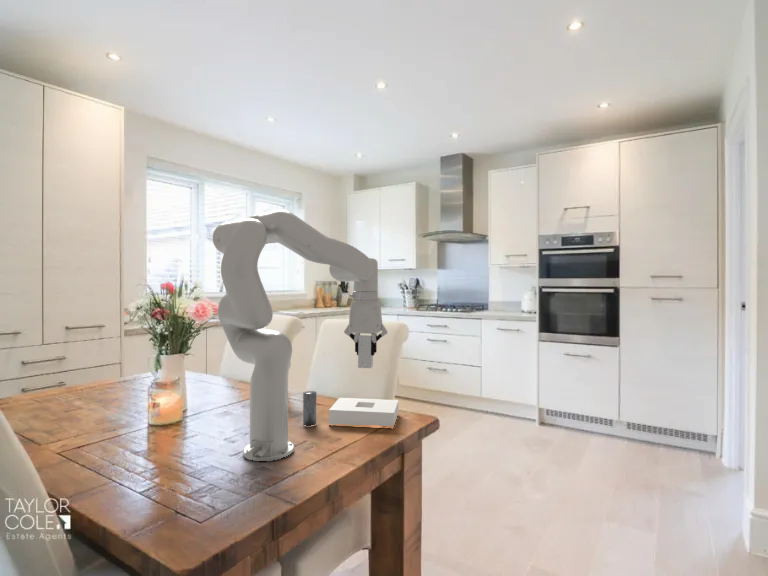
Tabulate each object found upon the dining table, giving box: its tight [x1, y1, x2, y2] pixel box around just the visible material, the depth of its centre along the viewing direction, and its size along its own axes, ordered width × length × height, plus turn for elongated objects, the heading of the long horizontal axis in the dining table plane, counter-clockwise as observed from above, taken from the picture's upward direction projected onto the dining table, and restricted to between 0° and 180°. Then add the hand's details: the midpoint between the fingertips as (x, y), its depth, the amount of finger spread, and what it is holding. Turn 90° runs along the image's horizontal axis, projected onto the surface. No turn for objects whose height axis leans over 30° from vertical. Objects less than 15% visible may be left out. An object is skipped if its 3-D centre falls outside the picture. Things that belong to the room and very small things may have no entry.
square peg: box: [357, 334, 374, 369], centre depth 137 cm, size 4×4×10 cm
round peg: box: [302, 390, 317, 426], centre depth 133 cm, size 4×4×10 cm
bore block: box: [328, 397, 399, 426], centre depth 138 cm, size 14×20×5 cm
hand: (365, 354), depth 138 cm, fingers closed on square peg, 4 cm apart
